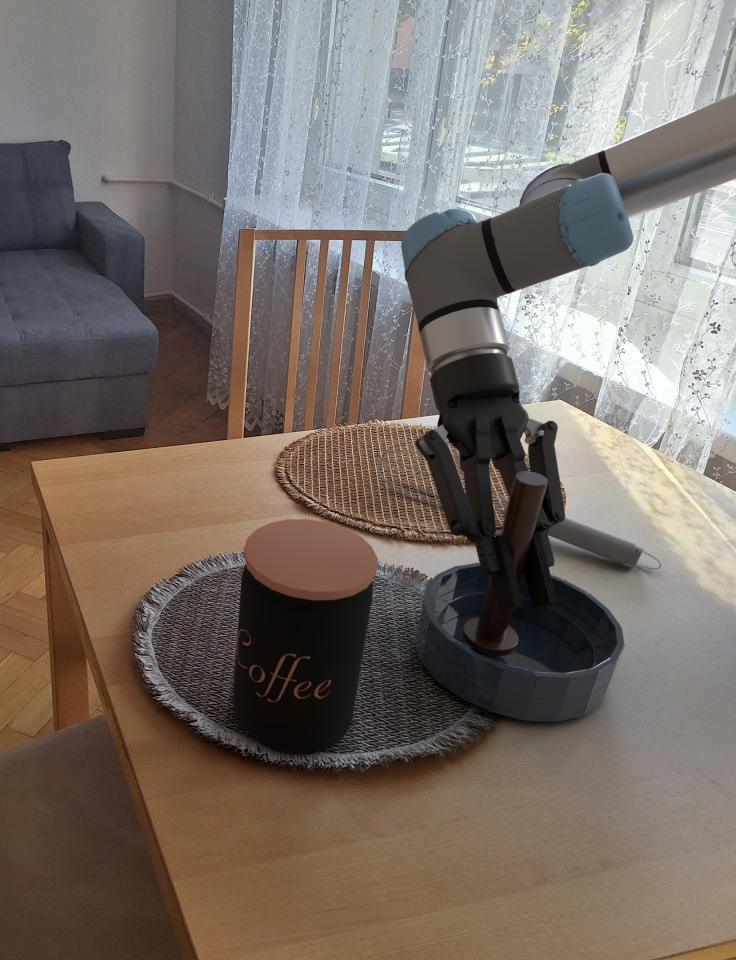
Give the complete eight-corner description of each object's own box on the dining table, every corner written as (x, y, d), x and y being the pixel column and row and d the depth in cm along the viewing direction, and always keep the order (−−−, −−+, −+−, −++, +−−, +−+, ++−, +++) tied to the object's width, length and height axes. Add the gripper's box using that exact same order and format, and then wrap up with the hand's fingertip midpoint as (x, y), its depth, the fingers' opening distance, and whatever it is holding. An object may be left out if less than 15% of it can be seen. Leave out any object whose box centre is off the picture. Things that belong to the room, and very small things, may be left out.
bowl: (599, 631, 88) (615, 584, 85) (613, 750, 74) (633, 698, 71) (422, 594, 94) (431, 548, 91) (405, 697, 80) (415, 647, 77)
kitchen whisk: (651, 587, 94) (668, 539, 91) (365, 490, 114) (371, 448, 111) (664, 563, 98) (681, 515, 95) (385, 473, 118) (392, 432, 115)
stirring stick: (517, 630, 85) (562, 470, 76) (517, 661, 81) (564, 497, 72) (463, 618, 86) (500, 460, 78) (460, 648, 82) (499, 486, 74)
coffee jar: (208, 717, 79) (217, 553, 70) (276, 660, 85) (292, 505, 76) (307, 781, 72) (331, 609, 63) (373, 715, 78) (403, 551, 70)
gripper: (523, 375, 88) (582, 604, 81) (376, 385, 86) (426, 620, 80) (567, 343, 80) (637, 592, 74) (409, 354, 79) (466, 610, 72)
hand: (527, 606), depth 77 cm, fingers closed on stirring stick, 3 cm apart
